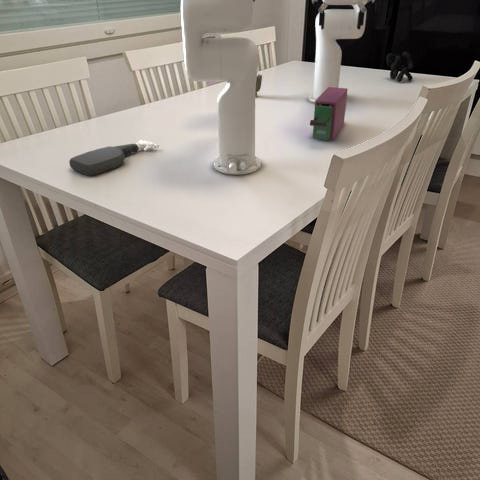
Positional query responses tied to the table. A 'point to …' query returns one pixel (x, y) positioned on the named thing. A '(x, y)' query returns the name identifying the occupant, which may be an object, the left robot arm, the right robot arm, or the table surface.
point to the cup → (258, 83)
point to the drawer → (322, 121)
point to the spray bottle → (106, 157)
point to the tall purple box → (339, 101)
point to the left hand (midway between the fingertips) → (232, 19)
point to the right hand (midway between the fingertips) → (340, 28)
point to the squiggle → (399, 66)
